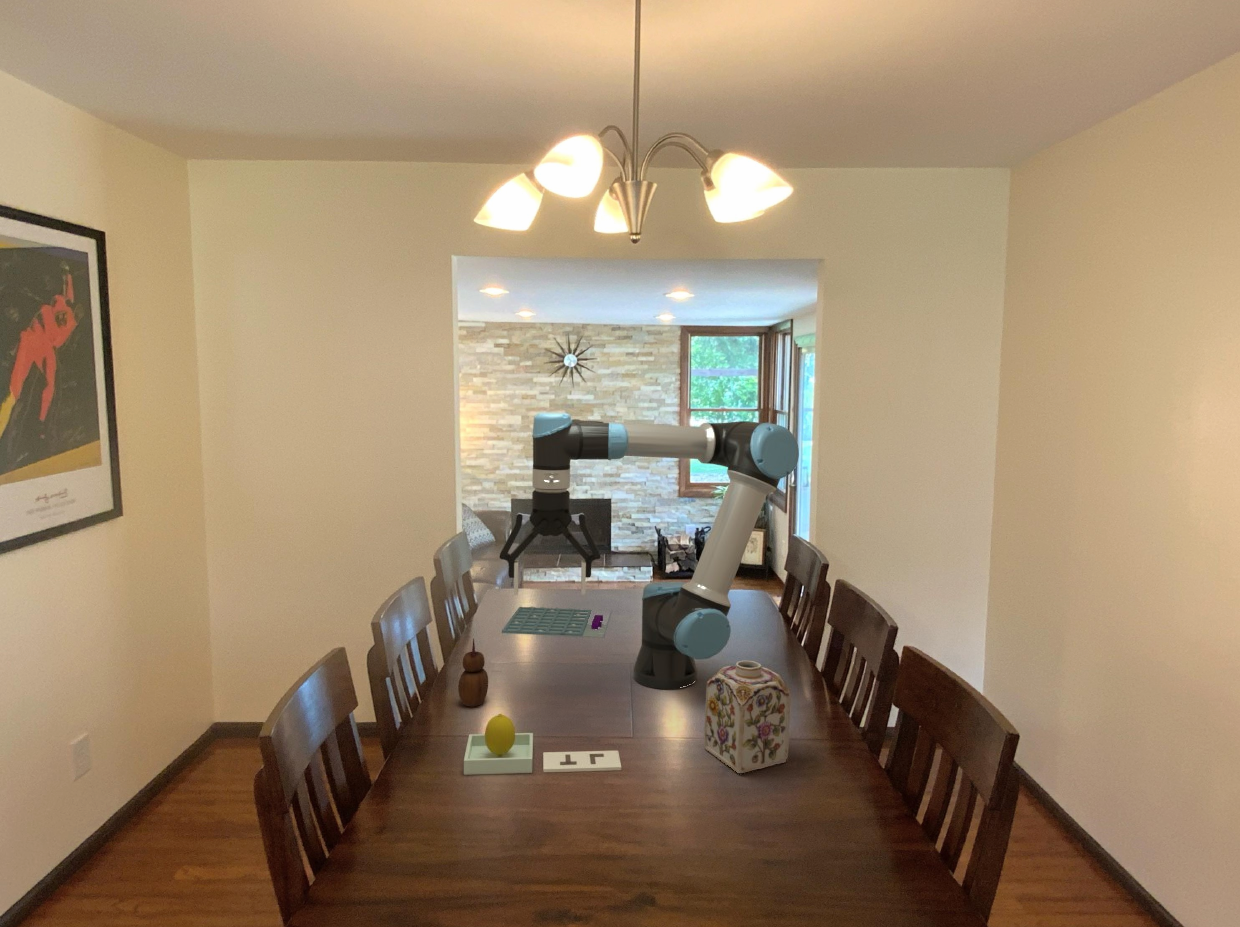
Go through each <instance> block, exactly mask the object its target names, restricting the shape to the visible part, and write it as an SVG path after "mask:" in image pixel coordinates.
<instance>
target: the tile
mask: <svg viewBox="0 0 1240 927" xmlns="http://www.w3.org/2000/svg"><path fill="white" fill-rule="evenodd" d="M542 754H543V755H542V756H543V758H542V760H543V761H542V763H543V764H542V766H543V767H542V768H543V773H567V772H569V773H570V772H571V773H572V772H606V771H607V772H609V771H610V772H611V771H613V772H614V771H622V764H621V758H620V753H619V750H591V751H589V750H588V751H587V750H586V751H581V750H580V751H555V752H554V751H553V752H552V751H551V752H544V751H543V753H542Z"/></svg>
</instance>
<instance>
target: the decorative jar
mask: <svg viewBox="0 0 1240 927" xmlns="http://www.w3.org/2000/svg"><path fill="white" fill-rule="evenodd" d="M790 715H791V692H790V691H789V689H788V687H787V685H786V683H785V682H784V681H783V679H782V677H781V675H780V674H779V673H776V672H774V671H773V670H771V669H770V668H767V667H762V664H761V663H759V662H757V661H755V660H739V661H737V662H736V663H735V665H727V666H723V667H722V668H720V670H718V672H716V673H715V674H714V675H713V676H712V677H711V678H709V680H708V681H707V682H706V692H705V709H704V738H703V740H704V749H705V750H706V751H707V752H708V751H709V753H710V754H711V755H712V756H714V757H715V758H716V757H717V758H716V759H718V760H719V761H720V760H721V761H720V762H722V763H723V764H724V763H725V764H724V765H726V766H727V765H728V766H729V767H731V768H732V769H733V770H734V771H733V770H732V769H731V768H730V769H731V770H732V771H733V772H735V771H736V772H737V773H743V772H746V771H749V770H752V769H755V768H757V767H761V766H763V765H767V764H771V763H772V762H777V761H779V760H780V759H787V758H788V756H789V748H790V747H789V745H790V744H789V743H790V720H791V716H790ZM787 760H788V759H787ZM728 766H727V767H728ZM729 767H728V768H729ZM736 772H735V773H736ZM737 773H736V774H737Z"/></svg>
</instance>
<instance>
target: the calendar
mask: <svg viewBox="0 0 1240 927" xmlns="http://www.w3.org/2000/svg"><path fill="white" fill-rule="evenodd" d="M580 609H581V608H579V609H575V608H570V607H569V608H561V607H560V608H559V607H555V608H552V607H543V606H540V607H536V606H529V607H528V606H519V607H518V608H517V609H516V611H515V612H514V614H512V616H511V617H510V619H509V620H508V622H507V623H506V624H505V625H504V627H503V628H502V630H501V634H513V635H515V634H516V635H537V636H554V637H555V636H559V637H560V636H561V637H576V638H577V637H578V636H579V637H583V638H599V637H605V635H606V631H607V628H608V625H604V624H602V622H600V621H603V615H595V616H594V619H593V621H592V625H589V624H587V623H588V619H589V617H590V614H591V611H592V610H593V609H586V610H580ZM580 612H588V613H580ZM574 615H576V616H574ZM580 615H587V616H580ZM579 618H585V619H579ZM605 626H607V627H605ZM598 627H600V628H603V629H598ZM595 629H597V630H595ZM599 631H600V632H599ZM599 633H604V634H605V635H604V634H599Z"/></svg>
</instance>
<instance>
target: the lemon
mask: <svg viewBox="0 0 1240 927" xmlns="http://www.w3.org/2000/svg"><path fill="white" fill-rule="evenodd" d="M515 733H516V729H515V724H514V722H513V720H512V719H511V718H509V717H508V716H506V715H504V714H502V713H499V714H498V715H494V716H493V717H492V718H490V719H489V720H488V722H487V724H486V727H485V730H484V734H485V742H486V746H487V748H488V749H489V750H490V751H491V752H492V753H494V754H497V755H498V756H502V755H503V754H504V753H507V752H508V751H509V750H510V749H511V748H512V746H513V744H514V741H515Z"/></svg>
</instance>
